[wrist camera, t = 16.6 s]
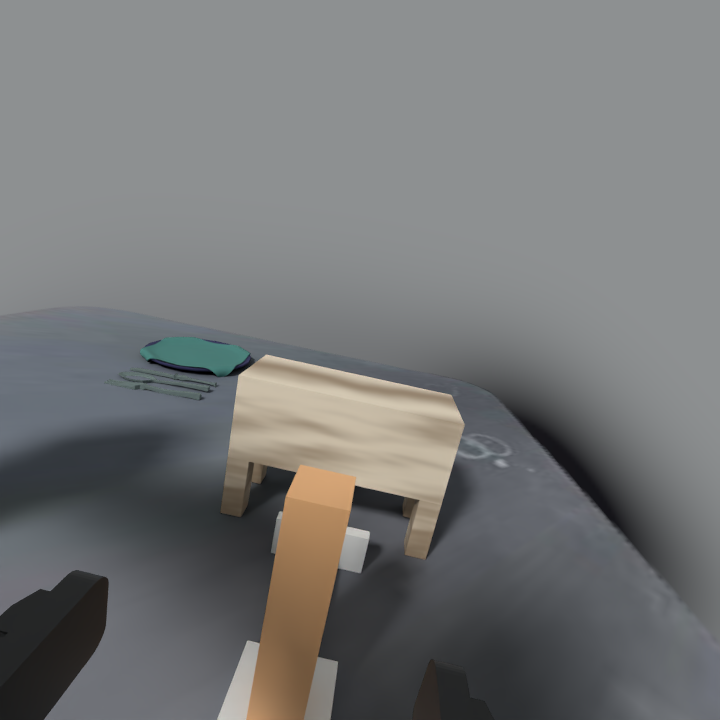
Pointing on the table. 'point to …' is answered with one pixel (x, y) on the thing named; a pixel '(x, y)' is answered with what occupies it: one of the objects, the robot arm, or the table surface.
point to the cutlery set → (186, 363)
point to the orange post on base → (299, 604)
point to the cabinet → (344, 436)
